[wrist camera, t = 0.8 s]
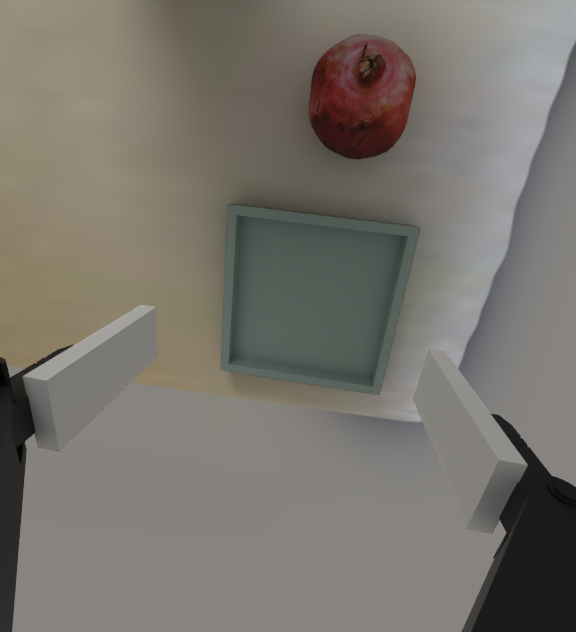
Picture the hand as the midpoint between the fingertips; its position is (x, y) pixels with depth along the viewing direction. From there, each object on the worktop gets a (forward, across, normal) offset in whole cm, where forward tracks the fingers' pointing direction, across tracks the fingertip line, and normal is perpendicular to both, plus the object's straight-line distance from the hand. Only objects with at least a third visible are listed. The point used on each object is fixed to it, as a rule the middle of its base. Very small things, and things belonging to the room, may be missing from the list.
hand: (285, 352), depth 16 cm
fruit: (+24, +2, +15) cm, 29 cm away
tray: (+24, +1, -5) cm, 24 cm away
